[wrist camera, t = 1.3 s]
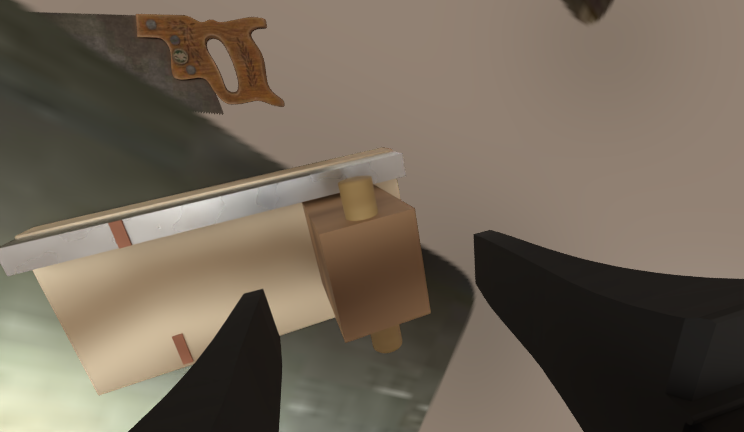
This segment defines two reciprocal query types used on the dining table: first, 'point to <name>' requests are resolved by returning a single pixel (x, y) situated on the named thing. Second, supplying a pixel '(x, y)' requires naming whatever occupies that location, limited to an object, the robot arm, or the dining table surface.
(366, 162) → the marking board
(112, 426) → the dining table surface
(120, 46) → the hand saw
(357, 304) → the brown knobbed block
